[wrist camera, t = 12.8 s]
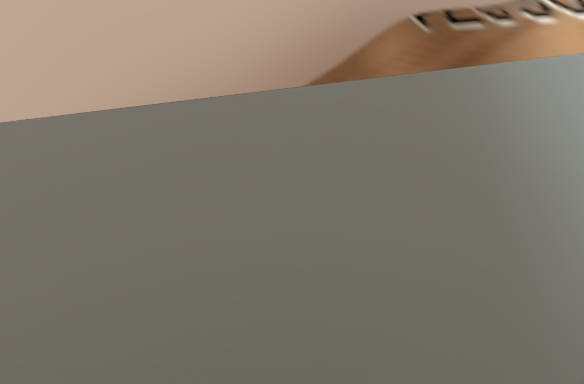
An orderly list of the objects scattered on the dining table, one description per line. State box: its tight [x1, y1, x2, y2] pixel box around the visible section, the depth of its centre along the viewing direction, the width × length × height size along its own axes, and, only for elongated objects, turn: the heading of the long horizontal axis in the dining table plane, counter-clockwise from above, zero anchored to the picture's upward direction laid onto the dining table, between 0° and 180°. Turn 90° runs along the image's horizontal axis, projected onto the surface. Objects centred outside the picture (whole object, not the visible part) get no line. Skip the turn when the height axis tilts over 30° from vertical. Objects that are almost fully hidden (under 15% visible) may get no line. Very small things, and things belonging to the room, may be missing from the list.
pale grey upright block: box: [0, 53, 584, 384], centre depth 8 cm, size 6×7×13 cm
